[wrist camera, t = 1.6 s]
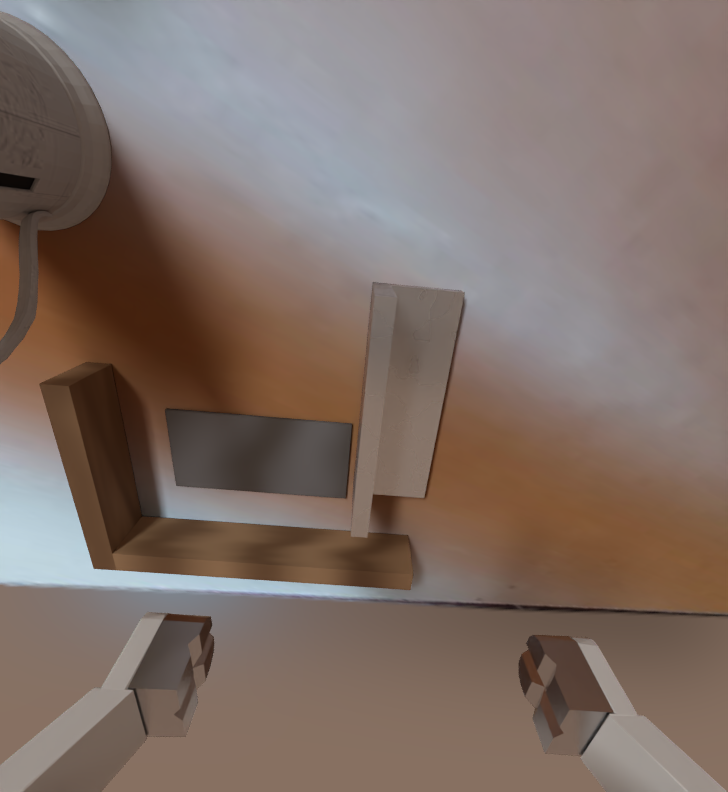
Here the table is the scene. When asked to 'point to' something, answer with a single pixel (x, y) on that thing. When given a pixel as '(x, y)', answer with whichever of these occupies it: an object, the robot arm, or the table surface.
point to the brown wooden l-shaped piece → (220, 469)
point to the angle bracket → (402, 392)
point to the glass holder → (45, 152)
